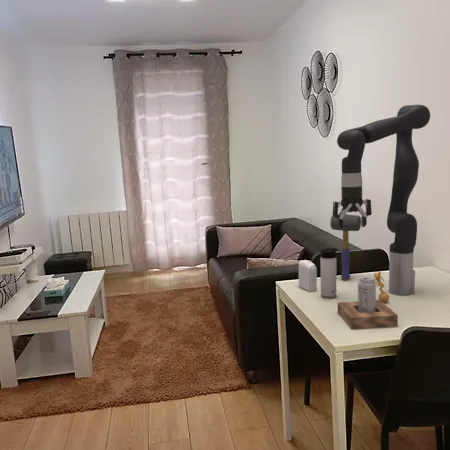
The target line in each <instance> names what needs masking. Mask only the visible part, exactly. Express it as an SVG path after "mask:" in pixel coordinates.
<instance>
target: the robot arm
mask: <svg viewBox="0 0 450 450" xmlns="http://www.w3.org/2000/svg"><path fill="white" fill-rule="evenodd" d="M430 119H431V112H430V109H429V107H427V105H423V104H409V105H403V106H401V107H400V108H399V110H398V111H397V114H396V116H392V117H388V118H384V119H379V120H375V121H372V122H369V123H366V124H365V125H363V126H358V127H355V128H354V127H353V128H350V129H345V130H344V131H342V132H340V133H339V135H338V136H337V139H336V143H337V145H338V147H339V148H340V149H342V150H345V151H348V152H347V155H346V156H345V157H343V158H342V159H341V177H340V178H341V179H340V180H341V182H340V184H341V185H340V187H341V188H340V189H341V190H340V191H341V200H340V201H336V200H335V201H333V202H332V215H333V217H335V218H338V227H340V229H343V219H342V218H343V217H344V215H345V214H347V213H352V212H353V213H357V212H358V213H359V214H360V215H361V216H360V218H361V228H366V226H367V224H368V222H367V218H368V216H371V215H372V212H373V211H372V200H371V199H369V198H366V199H363V176H362V159H363V155H364V152H365V149H366V144H371V143H374V142H377V141H379V140H383V139H384V138H387V137H389V136H393V135H396V137H395V138H396V141H395V142H396V143H395V145H396V146H395V156H394V158H395V159H394V164H393V176H392V186H391V198H390V203H389V206H388V207H389V208H388V211H387V217H386V225H387V229H388V230H389V231H390V232H391V233H393V234H394V241H393V242H391V243H390V244H389V255H388V257H389V258H388V259H389V261H388V263H389V265H388V293H390V294H393V295H396V296H409V295H412V294H415V293H416V292H415V290H416V289H415V287H416V286H415V285H416V284H415V283H416V282H415V281H416V271H415V270H414V253H415V247H416V244H417V237H418V236H417V235H418V234H417V233H418V223H417V219H416V217H415V216H414V215H413V214H411V213H408V202H409V199H410V196H411V194H412V192H413V191H414V188H415V187H416V185H417V181H418V178H419V177H418V176H419V169H420V168H419V167H420V163H419V162H420V161H419V158H418V154H417V153H416V151H415V147H414V144H413V130H419V129H422V128H424V127H426V126H427V125H428V124H429V122H430ZM363 205H364V206H365V210H364V209H363V208H362V206H363ZM340 206H341V207H342V208H341V209H340V211H339V208H340Z"/></svg>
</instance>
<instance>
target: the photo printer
mask: <svg viewBox="0 0 450 450" xmlns="http://www.w3.org/2000/svg"><path fill="white" fill-rule="evenodd" d="M317 273H318V269H317V266H316V265H315V263H313V262H312V261H311V260H307V259H304V260H300V261H299V262H298V286H299V287H300V288H302V289H304V290H306V291H308V292H311V293H313V292H316V291H317V289H318V288H317V287H318V286H317V285H318V277H317V276H318V275H317Z"/></svg>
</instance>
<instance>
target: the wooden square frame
mask: <svg viewBox="0 0 450 450" xmlns="http://www.w3.org/2000/svg"><path fill="white" fill-rule="evenodd" d="M337 314H338V315H339V317H341V319H342V320H343V321H344V322H345V323H346V325H347V326H348V327H349V328H350V329H351V330H360V329H361V330H363V329H375V328H377V329H379V328H380V329H381V328H394V327H398V322H399V321H398V320H399V319H398V318H399V317H398V314H397V313H396V312H395V311H393V310H392V309H391V308H390V307H389V306H388V305H386V304H385V302H382V301H381V300H379V299H376V310H375V312H368V313H359V312H358V300H357V301H343V302H337Z"/></svg>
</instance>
